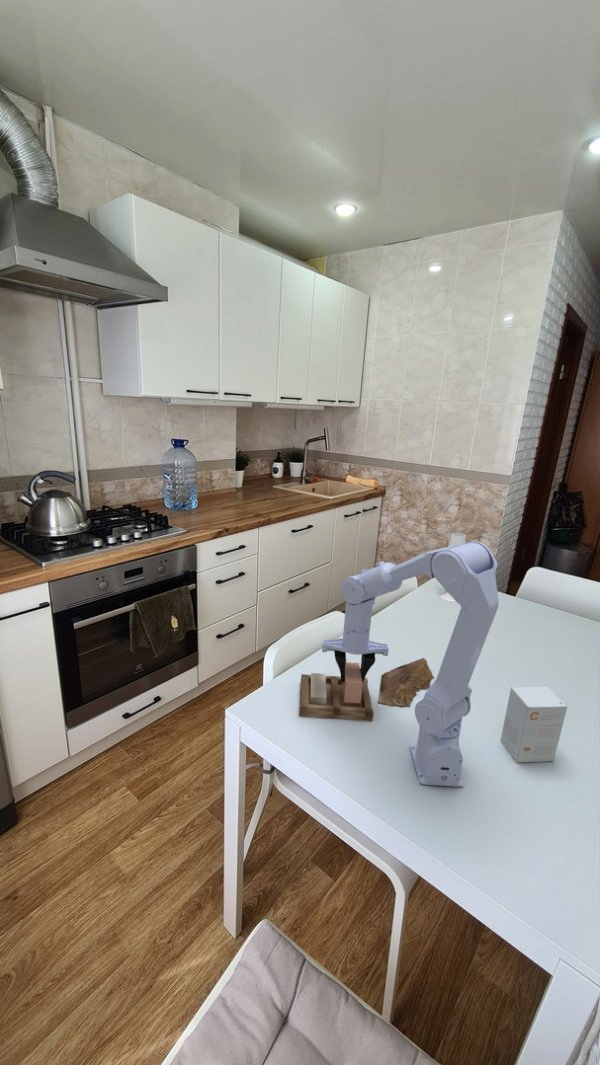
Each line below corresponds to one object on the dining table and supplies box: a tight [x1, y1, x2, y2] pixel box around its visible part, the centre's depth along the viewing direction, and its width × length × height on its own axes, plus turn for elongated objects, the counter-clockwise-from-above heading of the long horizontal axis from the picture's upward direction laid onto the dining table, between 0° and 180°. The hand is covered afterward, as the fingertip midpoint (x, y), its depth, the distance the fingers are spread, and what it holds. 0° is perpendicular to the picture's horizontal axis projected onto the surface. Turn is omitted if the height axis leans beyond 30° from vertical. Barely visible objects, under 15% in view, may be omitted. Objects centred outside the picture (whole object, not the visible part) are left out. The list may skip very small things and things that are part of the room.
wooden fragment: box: [377, 657, 435, 708], centre depth 112 cm, size 26×11×1 cm, turn 140°
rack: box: [299, 672, 375, 722], centre depth 103 cm, size 16×12×4 cm
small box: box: [500, 686, 568, 763], centre depth 89 cm, size 8×6×13 cm
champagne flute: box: [439, 532, 467, 603], centre depth 160 cm, size 7×7×24 cm
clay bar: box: [342, 661, 363, 703], centre depth 101 cm, size 8×4×5 cm, turn 178°
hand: (351, 680), depth 102 cm, fingers closed on clay bar, 4 cm apart
